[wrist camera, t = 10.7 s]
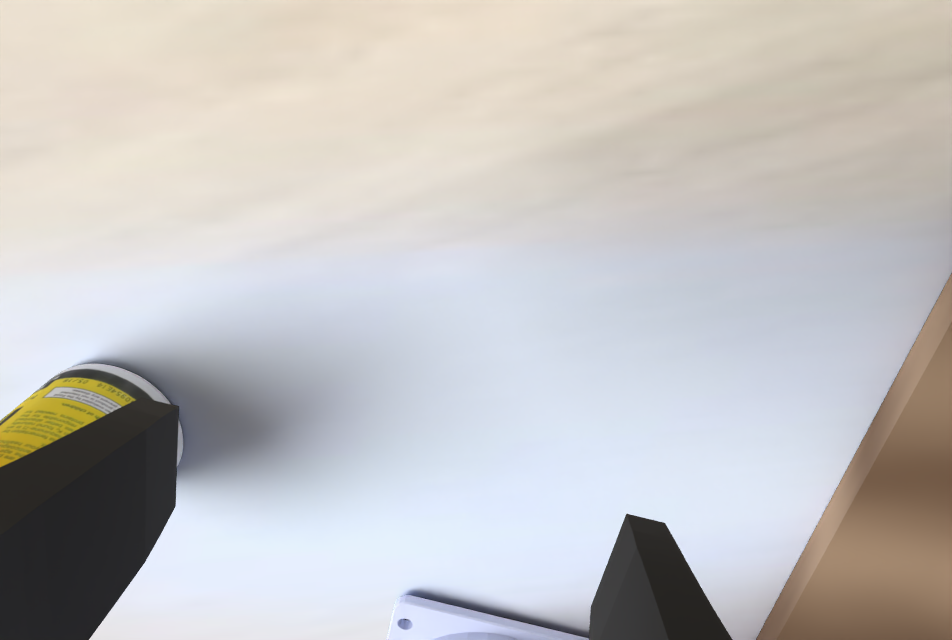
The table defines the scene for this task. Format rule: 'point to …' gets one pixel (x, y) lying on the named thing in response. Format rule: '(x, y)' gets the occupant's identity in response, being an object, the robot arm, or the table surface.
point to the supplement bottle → (72, 407)
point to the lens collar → (886, 517)
